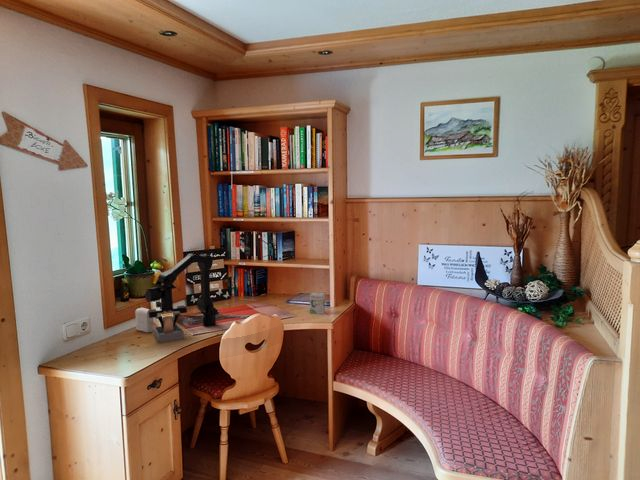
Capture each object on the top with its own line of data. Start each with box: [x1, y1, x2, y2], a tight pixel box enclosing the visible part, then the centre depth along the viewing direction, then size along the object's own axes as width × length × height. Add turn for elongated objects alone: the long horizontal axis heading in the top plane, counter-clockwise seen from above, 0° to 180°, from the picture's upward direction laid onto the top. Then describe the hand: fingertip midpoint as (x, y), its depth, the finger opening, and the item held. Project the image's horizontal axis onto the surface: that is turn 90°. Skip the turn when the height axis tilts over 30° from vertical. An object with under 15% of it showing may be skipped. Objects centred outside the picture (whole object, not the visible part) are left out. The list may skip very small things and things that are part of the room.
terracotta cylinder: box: [162, 315, 174, 334], centre depth 239 cm, size 5×5×8 cm
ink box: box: [309, 292, 326, 315], centre depth 280 cm, size 9×5×12 cm, turn 73°
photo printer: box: [134, 307, 154, 333], centre depth 249 cm, size 10×4×12 cm, turn 60°
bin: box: [153, 323, 185, 344], centre depth 239 cm, size 12×14×4 cm
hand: (168, 327), depth 239 cm, fingers closed on terracotta cylinder, 5 cm apart
